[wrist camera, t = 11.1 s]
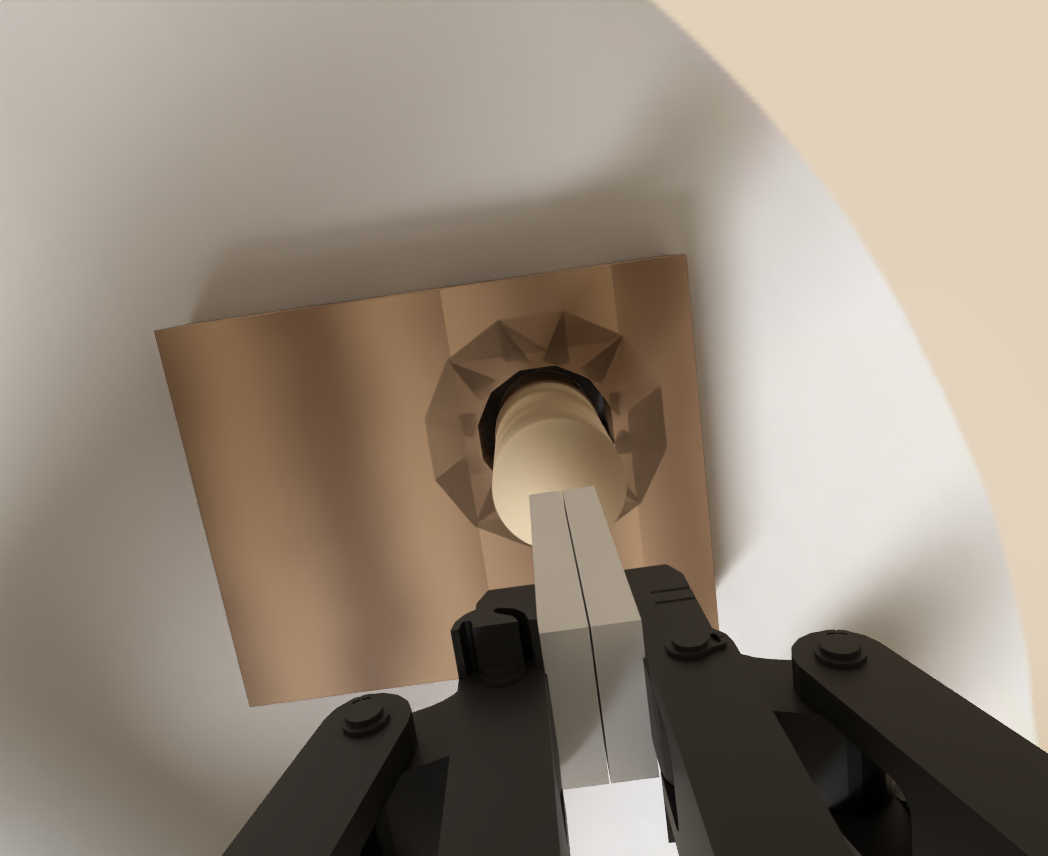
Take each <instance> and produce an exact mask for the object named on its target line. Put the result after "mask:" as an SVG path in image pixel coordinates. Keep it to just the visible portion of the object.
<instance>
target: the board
mask: <svg viewBox="0 0 1048 856" xmlns="http://www.w3.org/2000/svg"><path fill="white" fill-rule="evenodd" d="M154 333H155V337H156V341H157V344H158V348H159V352H160V356H161V360H162V364H163V368H164V372H165V376H166V380H167V384H168V388H169V392H170V395H171V399H172V403H173V407H174V411H175V415H176V419H177V423H178V427H179V431H180V435H181V439H182V443H183V447H184V450H185V454H186V458H187V462H188V466H189V470H190V474H191V478H192V482H193V486H194V490H195V494H196V498H197V501H198V505H199V509H200V513H201V517H202V521H203V525H204V529H205V533H206V537H207V541H208V545H209V549H210V553H211V556H212V560H213V564H214V568H215V572H216V576H217V580H218V584H219V588H220V592H221V596H222V600H223V604H224V607H225V611H226V615H227V619H228V623H229V627H230V631H231V635H232V639H233V643H234V647H235V651H236V655H237V659H238V662H239V666H240V670H241V674H242V678H243V682H244V686H245V690H246V694H247V698H248V702H249V706H250V707H254V706H261V705H269V704H276V703H283V702H291V701H298V700H306V699H313V698H321V697H328V696H336V695H343V694H350V693H358V692H365V691H373V690H380V689H388V688H395V687H402V686H410V685H417V684H425V683H432V682H440V681H447V680H454V679H459V677H458V671H457V665H456V660H455V654H454V649H453V643H452V638H451V632H450V630H451V628H452V626H453V625H454V623H455V622H456V621H457V620H458V619H459V618H461V617H462V616H463V615H464V614H467V613H469V612H471V611H473V610H476V603H477V602H478V601H479V600H480V599H481V598H482V597H483V595H484V594H485V593H486V592H487V591H488V590H494V589H501V588H508V587H516V586H523V585H530V584H535V578H534V563H533V548H532V545H530V544H528V543H526V542H524V541H522V540H521V539H519V538H518V537H517V536H515V535H514V534H513V533H512V532H511V531H510V530H509V529H508V528H507V527H506V526H505V524H504V523H503V522H502V520H501V518H500V517H499V515H498V513H497V510H496V508H495V505H494V501H493V495H492V477H493V465H494V454H495V452H494V451H493V449H492V448H491V447H490V446H489V444H488V443H487V442H486V439H485V433H484V426H483V420H482V413H483V411H484V408H485V406H486V403H487V401H488V398H489V396H490V393H491V392H492V391H494V390H495V389H496V388H497V387H499V386H500V385H501V384H503V383H504V382H505V381H506V380H508V379H509V378H510V377H512V376H513V375H514V374H515V373H517V372H518V371H519V370H526V369H533V368H540V367H547V366H554V365H556V366H559V367H561V368H564V369H566V370H569V371H571V372H574V373H576V374H579V375H581V376H584V377H586V378H589V379H590V380H591V382H592V383H593V384H594V386H595V387H596V388H597V389H598V391H599V392H600V393H601V395H602V400H603V408H604V417H605V427H604V428H605V430H606V432H607V434H608V436H609V437H610V439H611V441H612V443H613V445H614V447H615V448H616V450H617V452H618V454H619V456H620V458H621V460H622V462H623V465H624V468H625V472H626V478H627V491H626V498H625V502H624V505H623V508H622V510H621V512H620V514H619V516H618V518H617V519H616V521H615V522H614V524H613V525H612V526H611V527H610V528H609V530H610V533H611V536H612V538H613V541H614V544H615V547H616V550H617V553H618V555H619V558H620V561H621V564H622V567H623V569H624V570H626V569H633V568H641V567H648V566H655V565H663V564H668V565H669V566H671V567H673V568H674V569H676V570H678V571H679V572H681V573H683V574H684V576H685V578H686V580H687V582H688V584H689V586H690V589H692V591H693V593H694V595H695V597H696V599H697V601H698V602H699V604H700V606H701V608H702V610H703V612H704V614H705V615H706V617H707V619H708V621H709V623H710V625H711V627H712V628H714V629H716V630H718V631H719V624H718V613H717V601H716V590H715V578H714V567H713V556H712V544H711V533H710V521H709V510H708V498H707V487H706V476H705V464H704V453H703V441H702V430H701V418H700V407H699V396H698V384H697V373H696V361H695V350H694V338H693V327H692V316H691V304H690V293H689V281H688V270H687V259H686V254H685V255H665V256H658V257H651V258H644V259H637V260H630V261H623V262H616V263H609V264H602V265H595V266H588V267H581V268H574V269H567V270H560V271H553V272H546V273H539V274H532V275H526V276H519V277H512V278H505V279H498V280H491V281H484V282H477V283H470V284H463V285H456V286H449V287H442V288H435V289H428V290H421V291H414V292H407V293H400V294H393V295H386V296H379V297H373V298H366V299H359V300H352V301H345V302H338V303H331V304H324V305H317V306H310V307H303V308H296V309H289V310H282V311H275V312H268V313H261V314H254V315H247V316H240V317H233V318H227V319H220V320H213V321H206V322H199V323H192V324H186V325H181V326H176V327H171V328H166V329H161V330H156V331H154Z"/></svg>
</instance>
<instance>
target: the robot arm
mask: <svg viewBox="0 0 1048 856" xmlns="http://www.w3.org/2000/svg"><path fill="white" fill-rule="evenodd" d="M562 493H563V499H562V494H561V490H560V491H553V492H545V493H538V494H531V495H529V503H530V518H531V533H532V548H533V563H534V578H535V584H530V585H523V586H516V587H508V588H501V589H494V590H488V591H487V592H486V593H485V594H484V595H483V597H482V598H481V599H480V600H479V601H478V602H477V603H476V610H473V611H471V612H469V613H467V614H464V615H463V616H462V617H461V618H459V619H458V620H457V621H456V622H455V623H454V625H453V626H452V628H451V630H450V632H451V638H452V643H453V649H454V654H455V660H456V665H457V671H458V677H459V683H458V691H457V692H456V693H455V694H454V695H452V696H451V697H449V698H447V699H446V700H444V701H442V702H440V703H437V704H435V705H433V706H430V707H427V708H425V709H422V710H419V711H416V712H413V713H412V710H411V708H410V705H409V703H408V701H407V700H406V699H404V698H402V697H401V696H399V695H395V694H388V693H378V694H367V695H363V696H362V697H357V698H354V699H352V700H350V701H348V702H347V703H345V704H343V705H341V706H340V707H338V708H336V709H335V710H334V711H333V712H332V713H331V714H330V715H329V716H328V717H327V718H325V719H324V721H323V722H322V723H321V725H320V726H319V727H318V729H317V730H316V731H315V733H314V734H313V735H312V737H311V738H310V739H309V741H308V742H307V743H306V745H305V746H304V747H303V749H302V750H301V751H300V753H299V754H298V755H297V757H296V758H295V759H294V761H293V762H292V763H291V765H290V766H289V767H288V769H287V770H286V771H285V773H284V774H283V775H282V776H281V778H280V779H279V780H278V782H277V783H276V784H275V786H274V787H273V788H272V790H271V791H270V792H269V794H268V795H267V796H266V798H265V799H264V800H263V802H262V803H261V804H260V806H259V807H258V808H257V810H256V811H255V812H254V814H253V815H252V816H251V818H250V819H249V820H248V822H247V823H246V824H245V826H244V827H243V828H242V830H241V831H240V832H239V834H238V835H237V836H236V838H235V839H234V840H233V842H232V843H231V844H230V845H229V847H228V848H227V849H226V851H225V852H224V853H223V855H222V856H570V847H569V837H568V827H567V817H566V809H565V803H564V796H563V789H571V788H579V787H586V786H594V785H602V784H609V778H608V770H607V763H608V768H609V774H610V779H611V783H617V782H625V781H632V780H640V779H647V778H655V777H659V771H658V762H659V766H660V769H661V777H662V786H663V795H664V803H665V812H666V821H667V830H668V839H669V843H672V842H676V846H677V849H678V853H679V856H1048V753H1046V752H1045V751H1043V750H1042V749H1040V748H1039V747H1037V746H1036V745H1034V744H1033V743H1031V742H1030V741H1028V740H1027V739H1025V738H1024V737H1022V736H1021V735H1019V734H1018V733H1016V732H1015V731H1013V730H1011V729H1010V728H1008V727H1007V726H1005V725H1004V724H1002V723H1001V722H999V721H998V720H996V719H995V718H993V717H992V716H990V715H989V714H987V713H986V712H984V711H983V710H981V709H980V708H978V707H977V706H975V705H974V704H972V703H971V702H969V701H968V700H966V699H965V698H963V697H962V696H960V695H959V694H957V693H955V692H954V691H952V690H951V689H949V688H948V687H946V686H945V685H943V684H942V683H940V682H939V681H937V680H936V679H934V678H933V677H931V676H930V675H928V674H927V673H925V672H924V671H922V670H921V669H919V668H918V667H916V666H915V665H913V664H912V663H910V662H909V661H907V660H906V659H904V658H903V657H901V656H900V655H898V654H896V653H895V652H893V651H892V650H890V649H889V648H887V647H886V646H884V645H883V644H881V643H880V642H878V641H876V640H874V639H871V638H869V637H867V636H865V635H861V634H857V633H853V632H849V631H845V630H837V631H835V630H825V631H821V632H814V633H810V634H808V635H806V636H803V637H801V638H799V639H798V640H797V641H796V642H795V643H794V645H793V646H792V660H777V659H764V658H755V657H751V656H747V655H743V654H740V652H739V650H738V648H737V647H736V645H735V643H734V641H733V640H732V639H731V638H730V637H729V636H728V635H727V634H725V633H723V632H721V631H718V630H716V629H714V628H712V627H711V625H710V623H709V621H708V619H707V617H706V615H705V614H704V612H703V610H702V608H701V606H700V604H699V602H698V601H697V599H696V597H695V595H694V593H693V591H692V589H690V586H689V584H688V582H687V580H686V578H685V576H684V574H683V573H681V572H679V571H678V570H676V569H674V568H673V567H671V566H669V565H668V564H663V565H655V566H648V567H641V568H633V569H626V570H624V569H623V567H622V564H621V561H620V558H619V555H618V553H617V550H616V547H615V544H614V541H613V538H612V536H611V533H610V530H609V527H608V524H607V521H606V519H605V516H604V513H603V510H602V507H601V504H600V502H599V499H598V496H597V493H596V490H595V487H594V486H589V487H582V488H574V489H567V490H562ZM563 501H564V504H563ZM564 508H565V509H564ZM604 747H605V748H604ZM605 752H606V755H605ZM606 758H607V763H606ZM657 759H658V762H657Z"/></svg>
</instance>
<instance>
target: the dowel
mask: <svg viewBox="0 0 1048 856" xmlns="http://www.w3.org/2000/svg"><path fill="white" fill-rule="evenodd" d="M495 438H496V443H495V454H494V465H493V477H492V495H493V501H494V505H495V508H496V510H497V513H498V515H499V517H500V518H501V520H502V522H503V523H504V524H505V526H506V527H507V528H508V529H509V530H510V531H511V532H512V533H513V534H514V535H515V536H517V537H518V538H519V539H521V540H522V541H524V542H526V543H528V544H530V545H532V533H531V518H530V503H529V495H531V494H538V493H545V492H553V491H560V490H561V494H562V499H563V493H562V490H567V489H574V488H582V487H589V486H594V487H595V490H596V493H597V496H598V499H599V502H600V504H601V507H602V510H603V513H604V516H605V519H606V521H607V524H608V527H609V528H610V527H611V526H612V525H613V524H614V522H615V521H616V519H617V518H618V516H619V514H620V512H621V510H622V508H623V505H624V502H625V498H626V491H627V478H626V472H625V468H624V465H623V462H622V460H621V458H620V456H619V454H618V452H617V450H616V448H615V447H614V445H613V443H612V441H611V439H610V437H609V436H608V434H607V432H606V430H605V428H604V426H603V425H602V423H601V421H600V419H599V416H598V413H597V411H596V409H595V407H594V405H593V404H592V402H591V401H590V400H589V398H588V397H587V395H586V394H585V392H584V390H583V389H582V388H581V386H580V385H579V384H578V383H577V382H576V381H574V380H573V379H572V378H570V377H569V376H567V375H565V374H563V373H560V372H556V371H551V370H540V371H534V372H530V373H528V374H525V375H523V376H521V377H520V378H518V379H517V380H515V381H514V382H513V383H512V384H511V385H510V386H509V387H508V389H507V390H506V391H505V393H504V395H503V397H502V399H501V402H500V405H499V410H498V417H497V421H496V428H495ZM563 504H564V501H563ZM564 509H565V508H564Z"/></svg>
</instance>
